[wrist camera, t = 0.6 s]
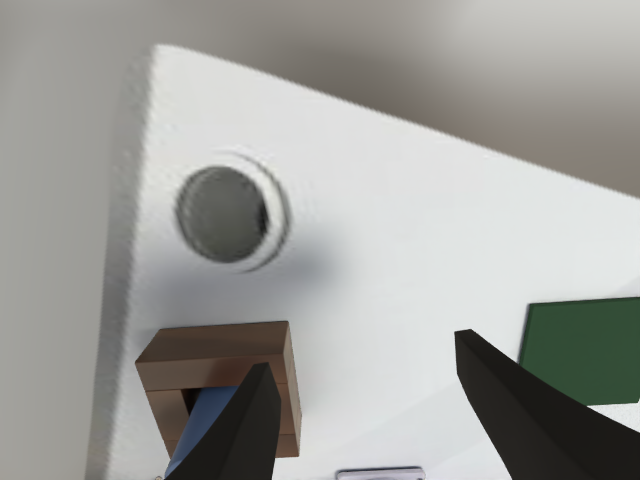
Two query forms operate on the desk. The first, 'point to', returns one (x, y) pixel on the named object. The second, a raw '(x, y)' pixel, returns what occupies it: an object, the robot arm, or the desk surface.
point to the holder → (217, 373)
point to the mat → (586, 349)
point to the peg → (200, 420)
